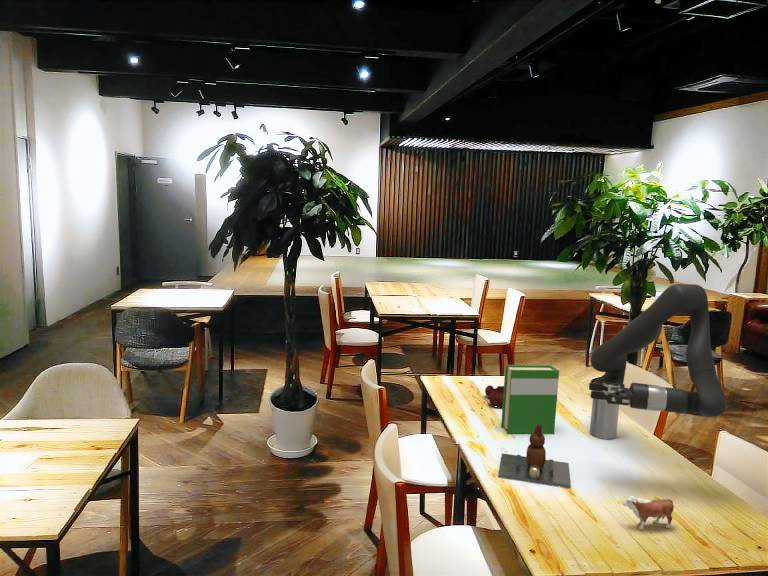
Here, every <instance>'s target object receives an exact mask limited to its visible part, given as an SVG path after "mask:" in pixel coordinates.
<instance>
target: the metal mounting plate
mask: <svg viewBox="0 0 768 576" xmlns="http://www.w3.org/2000/svg"><path fill="white" fill-rule="evenodd" d="M499 462H500V463H499V468H498V474H497V478H502V479H508V480H513V481H514V480H515V481H519V482H527V483H531V484H532V483H533V484H541V485H545V484H546V485H547V486H552V485H554V486H553V487H558V486H560V487H559V488H564V489H565V488H566V489H572V488H571V487H572V483H571V482H572V481H571V475H570V474H571V473H570V464H569V462H564V461H563V462H562V461H558V460H554V459H545V464H544V467H543V468H542V469H541V470H540V468H539V466H537V465H535V464H533V465H531V466H530V468H529V467H528V465H527V460H526V456H522V455H521V454H509V453H501V456H500V461H499Z"/></svg>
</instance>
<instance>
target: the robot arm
mask: <svg viewBox="0 0 768 576" xmlns="http://www.w3.org/2000/svg"><path fill="white" fill-rule="evenodd" d="M709 311H710V310H709V299H708V295H707V292H706V289H705V288H704V287H702V286H701V285H699V284H694V283H693V284H692V283H691V284H690V283H677V284H676V283H675V284H673V285H669V286H668V287H667V288H665V289H664V290H663V292H662V293H661V294H660V295H659V296H658V297H657V298H656V299H655V300H654V302H652V303H651V305H649V306H648V307H647V308H646V309H645V310H643V311H642V313H640V314H639V315H638V316H636V317H635V318H633V320H631V321H630V322H629V323H627V325H626V326H624V327H623V328H622V329H621V330H620V331H618V332H617V333H616V334H615V335H614V336H612V337H611V338H610V339H608V340H606V341H605V342H603V343H602V344H600V345H599V346H597V347H596V348H595V349H593V351H592V353H591V355H590V364H591V367H592V368H593V369H594V370H595V371H597V372H601V373H603V375H601V376H600V377H598V378H596V379H595V380H594V382H590V383H588V389H589V390H590V398H591V399H592V403H591V412H590V413H591V414H590V422H589V423H590V425H589V426H590V427H589V434H590V435H592V436H593V437H596V438H599V439H604V440H613V439H616V438H617V432H618V422H619V414H620V413H619V411H620V405H621V406H629V407H630V408H631V409H636V410H646V411H653V412H668V413H677V414H678V413H679V414H687V415H691V416H696V417H703V418H713V417H719V416H721V415H723V414H724V413H725V411H726V409H727V399H726V395H725V393H724V390H723V388H722V386H721V383H720V381H719V379H718V375H717V369H716V364H715V360H714V356H713V350H712V345H711V331H710V330H711V329H710V328H711V327H710V312H709ZM679 315H688V317H689V321H690V326H691V327H690V328H691V330H690V336H689V338H688V339H689V340H688V343H687V347H686V352H685V359H686V360H685V361H686V365H687V370H688V374H689V378H690V381H691V382H692V384H694V386H695V390H696V392H695V391H685V390H684V389H681V388H676V387H666V386H661V385H656V384H648V383H639V382H632V383H630V387H625V386H626V385H625V384H624V382H625V376H626V369H627V355H628V354H632V353H635V352H637V351H640V350H642V349H645V348H646V347H648V346H649V345H651V344H652V343H653V342H655V341H656V340H657V339H658V338H659V337H660V336H661V334H662V331H663V324H665V322H667V321H669V320H670V319H672V318H674V317H675V316H679Z"/></svg>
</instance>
